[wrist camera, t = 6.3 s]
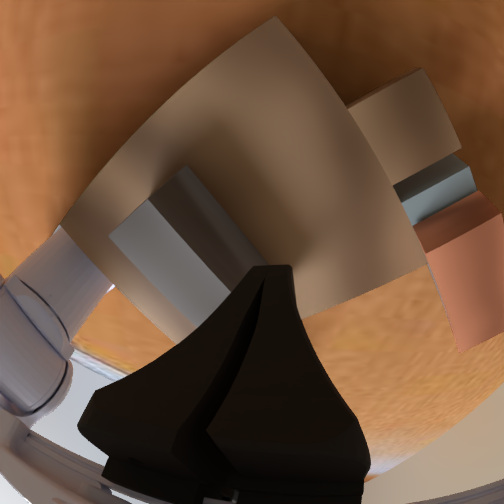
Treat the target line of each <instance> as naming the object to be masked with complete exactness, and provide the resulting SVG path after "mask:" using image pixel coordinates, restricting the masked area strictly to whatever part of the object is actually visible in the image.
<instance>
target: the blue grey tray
mask: <svg viewBox="0 0 504 504" xmlns="http://www.w3.org/2000/svg"><path fill="white" fill-rule="evenodd" d="M393 188H394V190H395V192H396V194H397V196H398V198H399V200H400V202H401V204H402V206H403V208H404V210H405V212H406V214H407V216H408V218H409V220H410V222H411V225H412V226H413V225H415V224H417V223H419V222H421V221H422V220H424V219H426V218H428V217H430V216H432V215H434V214H436V213H438V212H440V211H441V210H443V209H445V208H447V207H449V206H451V205H453V204H454V203H456V202H458V201H460V200H462V199H464V198H465V197H467V196H469V195H471V194H473V193H474V192H476V191H477V188H476V185H475V182H474V179H473V176H472V173H471V170H470V167H469V166H468V165H467V164H466V163H464V162H463V161H462V160H461V159H459V158H458V157H457V156H455V155H454V154H453V153H452V154H450V155H448V156H446V157H444V158H443V159H441V160H439V161H437V162H435V163H433V164H431V165H430V166H428V167H426V168H424V169H422V170H420V171H419V172H417V173H415V174H413V175H411V176H409V177H407V178H406V179H404V180H402V181H400V182H398V183H396V184H394V185H393ZM416 236H417V235H416ZM425 257H426V256H425ZM427 262H428V261H427ZM427 265H428V267H429V270H430V272H431V275H432V277H433V274H432V271H431V269H430V266H429V264H427ZM433 280H434V282H435V279H434V277H433ZM435 285H436V282H435ZM436 287H437V285H436ZM437 290H438V287H437ZM438 293H439V290H438ZM439 295H440V293H439ZM440 298H441V296H440ZM441 301H442V298H441ZM442 303H443V301H442ZM443 306H444V304H443ZM444 309H445V307H444ZM445 312H446V310H445ZM446 314H447V313H446ZM447 317H448V316H447ZM448 320H449V319H448ZM449 323H450V322H449Z"/></svg>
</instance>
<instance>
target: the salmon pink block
mask: <svg viewBox="0 0 504 504" xmlns="http://www.w3.org/2000/svg"><path fill="white" fill-rule="evenodd" d="M412 227H413V229H414V231H415V233H416V235H417V238H418V240H419V242H420V245H421V247H422V249H423V252H424V254H425V256H426V259H427V261H428V264H429V266H430V269H431V271H432V274H433V277H434V279H435V282H436V285H437V287H438V290H439V293H440V296H441V298H442V301H443V304H444V307H445V310H446V313H447V316H448V319H449V322H450V326H451V329H452V332H453V335H454V338H455V341H456V344H457V348H458V351H459V353H461V352H463V351H466V350H468V349H470V348H472V347H474V346H476V345H478V344H480V343H482V342H484V341H486V340H488V339H490V338H492V337H494V336H496V335H498V334H500V333H502V332H504V222H503V218H502V213H501V212H500V211H499V210H498V209H497V208H496V207H495V206H494V205H493V204H492V203H491V202H490V201H489V199H488V198H487V197H486V196H485V195H484V194H482V193H481V192H480V191H479V190H478V191H476V192H474V193H473V194H471V195H469V196H467V197H465V198H464V199H462V200H460V201H458V202H456V203H454V204H453V205H451V206H449V207H447V208H445V209H443V210H441V211H440V212H438V213H436V214H434V215H432V216H430V217H428V218H426V219H424V220H422V221H421V222H419V223H417V224H415V225H413V226H412Z"/></svg>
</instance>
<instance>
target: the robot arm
mask: <svg viewBox="0 0 504 504" xmlns="http://www.w3.org/2000/svg"><path fill="white" fill-rule="evenodd" d="M114 287H115V285H114V284H113V283H112V282H111V281H110V280H109V279H108V278H107V277H106V276H105V275H104V274H103V273H102V272H101V271H100V270H99V269H98V268H97V267H96V265H95V264H94V263H93V262H92V261H91V260H90V259H89V258H88V257H87V256H86V254H85V253H84V252H83V251H82V250H81V249H80V248H79V247H78V245H77V244H76V243H75V242H74V241H73V240H72V239H71V237H70V236H69V235H68V234H67V233H66V232H65V230H64V229H63V228H62V227H61V226H60V224H59V226H58V227H57V229H56V230H55V231H54V233H53V234H52V236H51V237H50V238H48V239H47V240H46V241H45V242H44V243H43V244H42V245H41V246H40V247H38V248H37V249H36V250H35V251H34V252H33V253H32V254H31V255H30V256H29V257H28V258H27V259H26V260H25V261H24V262H22V263H21V264H20V265H19V266H18V267H17V268H16V269H15V270H14V271H13V272H12V273H11V274H10V275H9V276H8V277H7V278H5V279H4V278H3V277H2V275H1V274H0V473H1V475H3V477H4V478H5V479H6V480H7V481H8V482H9V483H10V484H11V485H12V486H13V488H14V489H15V490H16V491H17V492H18V493H19V494H20V495H22V497H23V498H24V499H25V500H26V501H27V502H28V503H29V504H131V503H130V502H128V501H126V500H123V499H121V498H119V497H117V496H114V495H112V492H111V490H110V489H112V490H114V491H117V492H119V493H122V494H124V495H127V496H129V497H132V498H135V499H137V500H140V501H143V502H146V503H149V504H361V500H362V495H363V491H364V478H365V476H366V475H367V473H368V471H369V469H370V466H371V459H370V453H369V449H368V445H367V442H366V439H365V437H364V434H363V432H362V429H361V427H360V424H359V421H358V419H357V417H356V416H355V414H354V413H353V412H352V410H351V409H350V408H349V406H348V405H347V404H346V402H345V401H344V399H343V398H342V397H341V395H340V394H339V392H338V391H337V389H336V387H335V386H334V384H333V383H332V381H331V380H330V378H329V376H328V374H327V373H326V371H325V369H324V367H323V366H322V364H321V362H320V360H319V359H318V357H317V355H316V353H315V351H314V349H313V347H312V344H311V342H310V340H309V338H308V335H307V333H306V331H305V328H304V326H303V323H302V320H301V317H300V315H299V311H298V308H297V303H296V294H295V286H294V277H293V269H292V267H291V266H290V265H289V264H284V265H260V266H253V267H252V268H251V269H250V270H249V271H248V272H247V274H246V275H245V276H244V277H243V278H242V280H241V281H240V282H239V283H238V285H237V286H236V287H235V288H234V289H233V291H232V292H231V293H230V294H229V295H228V296H227V297H226V299H225V300H224V301H223V302H222V303H221V304H220V305H219V306H218V308H217V309H216V310H215V311H214V312H213V313H212V314H211V315H210V316H209V317H208V318H207V319H206V320H205V321H204V322H203V323H202V324H201V325H200V326H199V327H198V328H196V329H195V330H194V331H193V332H192V333H191V334H189V335H188V336H187V337H186V338H185V339H183V340H182V341H181V342H180V343H178V344H177V345H176V346H174V347H173V348H171V349H170V350H169V351H167V352H166V353H164V354H163V355H161V356H160V357H159V358H157V359H156V360H154V361H153V362H151V363H149V364H148V365H146V366H144V367H143V368H141V369H139V370H137V371H136V372H134V373H132V374H130V375H128V376H126V377H124V378H122V379H120V380H118V381H116V382H114V383H111V384H109V385H107V386H105V387H103V388H101V389H98V390H95V392H94V394H93V396H92V397H91V399H90V401H89V403H88V405H87V407H86V409H85V410H84V412H83V414H82V416H81V418H80V420H79V422H78V424H77V427H78V430H79V431H80V433H81V434H82V435H83V436H84V437H85V438H86V439H87V440H88V441H90V442H91V443H92V444H93V445H95V446H96V447H97V448H99V449H100V450H101V451H102V452H104V453H105V454H107V455H108V456H109V458H108V460H107V462H106V465H105V466H102V465H100V464H97V463H95V462H93V461H90V460H88V459H86V458H84V457H82V456H80V455H77V454H75V453H73V452H71V451H69V450H67V449H65V448H63V447H61V446H59V445H57V444H55V443H53V442H52V441H50V440H48V439H46V438H44V437H42V436H41V435H39V434H37V433H35V432H34V431H32V430H30V428H31V427H32V426H33V425H34V424H35V423H36V422H37V421H38V420H40V419H41V418H42V417H44V416H46V415H48V414H50V413H51V412H52V411H54V410H55V409H56V408H57V407H58V406H59V405H60V404H61V402H62V401H63V400H64V398H65V397H66V395H67V393H68V391H69V389H70V386H71V383H72V376H73V366H72V363H71V362H70V360H69V358H70V357H71V355H72V354H73V352H74V348H73V347H72V346H71V344H70V342H71V341H72V339H73V338H74V336H75V335H76V333H77V332H78V331H79V329H80V328H81V326H82V325H83V324H84V322H85V321H86V319H87V318H88V317H89V315H90V314H91V313H92V311H93V310H94V308H95V307H96V306H97V304H98V303H99V302H100V300H101V299H102V298H103V296H104V295H105V294H106V293H107V292H108V291H110V290H111V289H113V288H114ZM109 488H110V489H109ZM408 504H504V479H502V480H499V481H496V482H493V483H490V484H487V485H484V486H481V487H478V488H475V489H471V490H468V491H464V492H461V493H457V494H453V495H449V496H444V497H440V498H435V499H430V500H425V501H420V502H414V503H408Z"/></svg>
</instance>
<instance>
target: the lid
mask: <svg viewBox="0 0 504 504" xmlns="http://www.w3.org/2000/svg"><path fill="white" fill-rule="evenodd" d="M461 148H462V146H461V144H460V142H459V139H458V137H457V134H456V132H455V130H454V127H453V125H452V123H451V121H450V119H449V116H448V114H447V112H446V110H445V108H444V106H443V104H442V102H441V100H440V98H439V96H438V94H437V92H436V90H435V88H434V86H433V85H432V83H431V81H430V79H429V77H428V75H427V74H426V72H425V70H424V68H413V69H412V70H410V71H408V72H406V73H404V74H402V75H400V76H398V77H396V78H394V79H392V80H391V81H389V82H387V83H385V84H383V85H381V86H380V87H378V88H376V89H374V90H372V91H371V92H369V93H367V94H365V95H363V96H362V97H360V98H358V99H356V100H355V101H353V102H351V103H349V104H348V105H346V106H345V105H344V103H343V102H342V100H341V99H340V97H339V96H338V94H337V93H336V92H335V90H334V89H333V87H332V86H331V84H330V83H329V82H328V80H327V79H326V78H325V76H324V75H323V73H322V72H321V71H320V69H319V68H318V67H317V65H316V64H315V63H314V61H313V60H312V59H311V58H310V56H309V55H308V54H307V52H306V51H305V50H304V49H303V47H302V46H301V45H300V44H299V42H298V41H297V40H296V39H295V38H294V36H293V35H292V34H291V33H290V32H289V30H288V29H287V28H286V27H285V26H284V25H283V23H282V22H281V21H280V20H279V19H278V18H277V17H276V16H274V17H272V18H271V19H269V20H268V21H266V22H265V23H263V24H262V25H260V26H259V27H257V28H256V29H255V30H253V31H252V32H250V33H249V34H247V35H246V36H245V37H243V38H242V39H241V40H239V41H238V42H236V43H235V44H234V45H232V46H231V47H230V48H228V49H227V50H226V51H225V52H223V53H222V54H221V55H219V56H218V57H217V58H216V59H214V60H213V61H212V62H211V63H209V64H208V65H207V66H206V67H205V68H203V69H202V70H201V71H200V72H199V73H197V74H196V75H195V76H194V77H193V78H192V79H190V80H189V81H188V82H187V83H186V84H185V85H184V86H182V87H181V88H180V89H179V90H178V91H177V92H176V93H175V94H174V95H173V96H171V97H170V98H169V99H168V100H167V101H166V102H165V103H164V104H163V105H162V106H161V107H160V108H159V109H158V110H157V111H156V112H155V113H154V114H153V115H152V116H151V117H150V118H149V119H148V120H147V121H146V122H145V123H144V124H143V125H142V126H141V127H140V128H139V129H138V130H137V131H136V132H135V133H134V134H133V135H132V136H131V137H130V138H129V139H128V140H127V141H126V143H125V144H124V145H123V146H122V147H121V148H120V149H119V150H118V151H117V152H116V154H115V155H114V156H113V157H112V158H111V159H110V160H109V162H108V163H107V164H106V165H105V166H104V167H103V169H102V170H101V171H100V172H99V173H98V175H97V176H96V177H95V178H94V179H93V181H92V182H91V183H90V184H89V186H88V187H87V188H86V189H85V191H84V192H83V193H82V194H81V196H80V197H79V198H78V200H77V201H76V202H75V204H74V205H73V206H72V208H71V209H70V210H69V212H68V213H67V214H66V216H65V217H64V218H63V220H62V221H61V223H60V226H61V227H62V228H63V229H64V230H65V232H66V233H67V234H68V235H69V236H70V237H71V239H72V240H73V241H74V242H75V243H76V244H77V245H78V247H79V248H80V249H81V250H82V251H83V252H84V253H85V254H86V256H87V257H88V258H89V259H90V260H91V261H92V262H93V263H94V264H95V265H96V267H97V268H98V269H99V270H100V271H101V272H102V273H103V274H104V275H105V276H106V277H107V278H108V279H109V280H110V281H111V282H112V283H113V284H114V285H115V287H116V288H117V289H118V290H119V291H120V292H121V293H122V294H123V295H124V296H125V297H126V298H127V299H128V300H129V301H130V302H131V303H132V304H133V305H134V306H136V307H137V308H138V309H139V310H140V311H141V312H142V313H143V314H144V315H145V316H146V317H147V318H148V319H149V320H150V321H151V322H152V323H153V324H154V325H156V326H157V327H158V328H159V329H160V330H161V331H162V332H163V333H164V334H165V335H166V336H168V337H169V338H170V339H171V340H172V341H173V342H174V343H175V344H178V343H180V342H181V341H182V340H183V339H185V338H186V337H187V336H188V335H189V334H191V333H192V332H193V331H194V330H195V329H196V328H198V327H199V326H200V325H201V324H202V323H203V322H204V321H205V320H206V319H207V318H208V317H209V316H210V315H211V314H212V313H213V312H214V311H215V310H216V309H217V308H218V306H219V305H220V304H221V303H222V302H223V301H224V300H225V299H226V297H227V296H228V295H229V294H230V293H231V292H232V291H233V289H234V288H235V287H236V286H237V285H238V283H239V282H240V281H241V280H242V278H243V277H244V276H245V275H246V274H247V272H248V271H249V270H250V269H251V268H252V267H253V266H260V265H284V264H289V265H290V266H291V267H292V269H293V277H294V286H295V294H296V303H297V308H298V311H299V315H300V317H301V319H304V318H306V317H309V316H311V315H314V314H316V313H319V312H321V311H324V310H326V309H329V308H331V307H334V306H336V305H338V304H341V303H343V302H345V301H348V300H350V299H352V298H355V297H357V296H359V295H362V294H364V293H366V292H369V291H371V290H373V289H375V288H377V287H380V286H382V285H384V284H386V283H388V282H391V281H393V280H395V279H397V278H399V277H401V276H403V275H406V274H408V273H410V272H412V271H414V270H416V269H418V268H420V267H422V266H424V265H426V264H428V262H427V259H426V257H425V254H424V252H423V249H422V247H421V245H420V242H419V240H418V238H417V236H416V233H415V231H414V229H413V227H412V225H411V222H410V220H409V218H408V216H407V214H406V212H405V210H404V208H403V206H402V204H401V202H400V200H399V198H398V196H397V194H396V192H395V190H394V188H393V185H394V184H396V183H398V182H400V181H402V180H404V179H406V178H407V177H409V176H411V175H413V174H415V173H417V172H419V171H420V170H422V169H424V168H426V167H428V166H430V165H431V164H433V163H435V162H437V161H439V160H441V159H443V158H444V157H446V156H448V155H450V154H452V153H454V152H455V151H457V150H459V149H461Z"/></svg>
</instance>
